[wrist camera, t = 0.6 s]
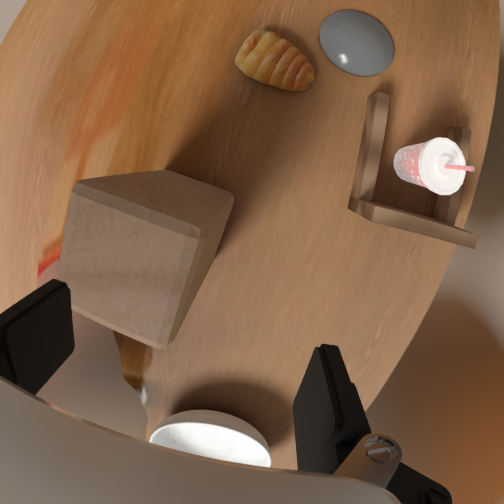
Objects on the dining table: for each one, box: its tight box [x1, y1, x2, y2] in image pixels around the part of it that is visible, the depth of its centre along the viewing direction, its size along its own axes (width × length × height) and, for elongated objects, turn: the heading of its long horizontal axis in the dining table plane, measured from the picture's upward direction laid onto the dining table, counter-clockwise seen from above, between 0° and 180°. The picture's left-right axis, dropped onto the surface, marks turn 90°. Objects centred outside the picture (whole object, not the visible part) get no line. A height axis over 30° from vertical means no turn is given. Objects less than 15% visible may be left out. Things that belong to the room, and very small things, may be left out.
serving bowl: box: [149, 410, 272, 467], centre depth 45 cm, size 21×21×7 cm
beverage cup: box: [394, 137, 475, 195], centre depth 28 cm, size 6×6×14 cm
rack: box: [348, 92, 478, 249], centre depth 30 cm, size 15×14×9 cm
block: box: [58, 170, 234, 349], centre depth 28 cm, size 10×10×20 cm
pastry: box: [235, 29, 315, 91], centre depth 30 cm, size 9×7×4 cm
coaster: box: [319, 10, 394, 76], centre depth 30 cm, size 10×10×1 cm
